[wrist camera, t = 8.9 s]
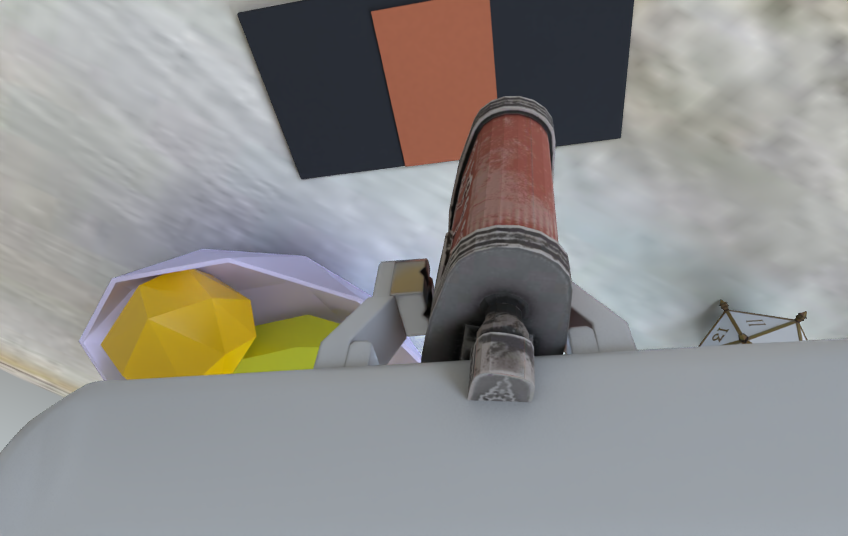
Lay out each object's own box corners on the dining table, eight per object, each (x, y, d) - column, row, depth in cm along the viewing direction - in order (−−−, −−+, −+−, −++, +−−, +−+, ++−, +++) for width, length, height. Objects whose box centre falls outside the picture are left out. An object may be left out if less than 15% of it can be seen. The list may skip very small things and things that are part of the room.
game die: (722, 271, 40) (849, 291, 30) (764, 352, 42) (897, 395, 32) (638, 334, 39) (740, 375, 29) (684, 414, 41) (795, 478, 31)
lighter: (465, 89, 15) (412, 332, 8) (574, 102, 15) (628, 366, 7) (441, 276, 20) (397, 524, 13) (521, 288, 20) (522, 547, 13)
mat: (638, -64, 22) (641, -63, 22) (619, 135, 29) (621, 139, 28) (238, 12, 25) (236, 14, 25) (302, 177, 32) (300, 180, 32)
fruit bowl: (443, 218, 33) (438, 346, 25) (421, 426, 51) (414, 542, 43) (40, 186, 34) (-102, 303, 25) (159, 405, 51) (100, 516, 43)
